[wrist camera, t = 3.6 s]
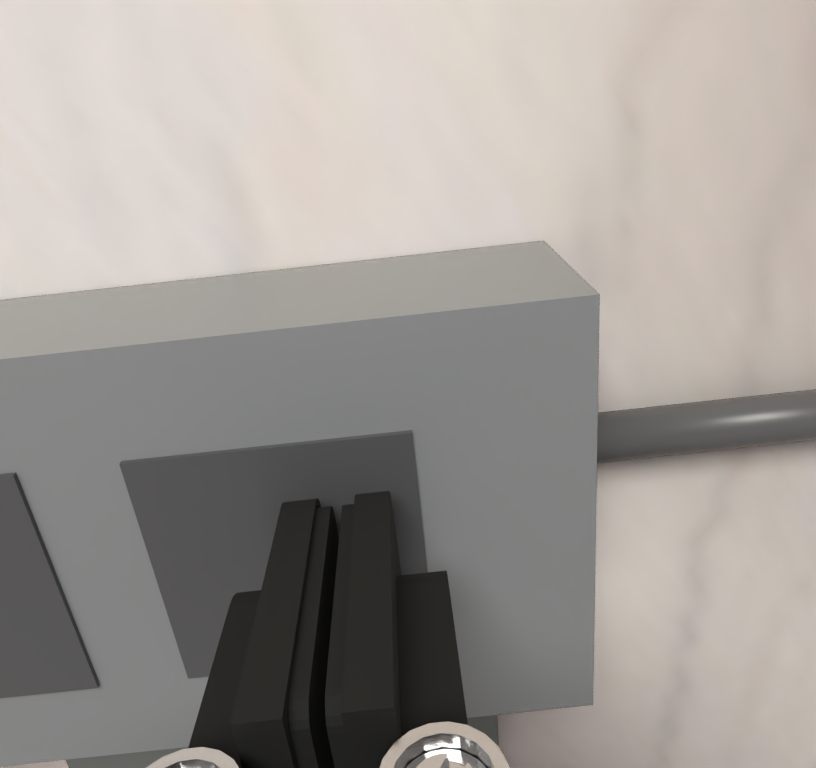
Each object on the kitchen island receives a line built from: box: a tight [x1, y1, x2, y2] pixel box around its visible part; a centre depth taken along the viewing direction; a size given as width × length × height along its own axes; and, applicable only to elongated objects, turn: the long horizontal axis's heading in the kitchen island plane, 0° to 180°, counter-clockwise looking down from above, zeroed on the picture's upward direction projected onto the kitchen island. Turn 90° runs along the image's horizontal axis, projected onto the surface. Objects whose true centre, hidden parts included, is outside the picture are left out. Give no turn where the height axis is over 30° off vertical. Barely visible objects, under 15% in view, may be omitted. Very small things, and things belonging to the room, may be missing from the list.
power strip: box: [0, 241, 816, 766], centre depth 12 cm, size 36×8×4 cm, turn 96°
